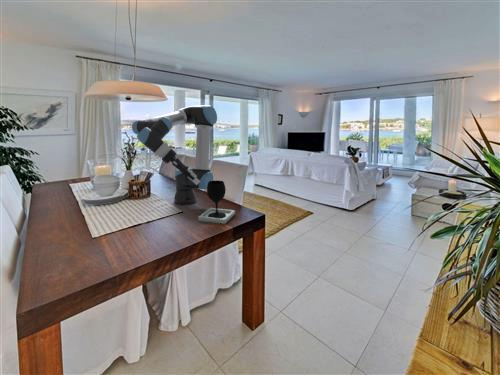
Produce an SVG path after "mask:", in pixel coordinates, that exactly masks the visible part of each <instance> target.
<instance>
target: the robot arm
mask: <svg viewBox="0 0 500 375" xmlns="http://www.w3.org/2000/svg"><path fill="white" fill-rule="evenodd" d="M217 121H218V113H217V110H216V109H215V107H213V106H212V105H209V104H202V105H190V106H186V107H182V108H179V109H177V110H176V111H175V112H171V113H167V114H163V115H159V116H155V117H152V118H148V119H145V120H135V121H133V122H132V124H131V130H132V132H133V133H134V134H135V135H136V139H137V140H138V141H139V142H140V143H141V144H142V145H144V146H145V147H146V148H148V150H149V151H151V152H152V153H154V156H155V157H158V158H159V159H161V161H163V162H164V164H169V163H170V162H171V165H173V167H175V169H176V170H175V171H174V179H175V194H174V197H173V200H174V201H173V202H174V204H178V205H189V204H194V203H195V202H197V196H196V193H195V191H194V189H199V190H207V185H208V182H209V181H214V174H213V173H212V172H211V168H210V167H209V156H210V140H211V130H212V129H213V127H214V125H216V123H217ZM187 124H188V125H194V127H195V128H196V137H195V138H196V139H195V140H196V141H195V156H194V157H195V160H194V166H193V167H190V166H188V165H187V166H186V165H185V164H184V163H183V162H182V161H181V160H180V159H179V158H176V155H177V152H176V151H175V150H174V149H173V148H171V147H170V145H168V144H167V143H166V142H165V141H164V140H163V139H164V138H165V137H166V136H167V135H168V133H170V131H171V130H172V129H173V127H174V126H178V125H181V126H183V125H187Z"/></svg>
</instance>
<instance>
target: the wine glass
mask: <svg viewBox="0 0 500 375" xmlns="http://www.w3.org/2000/svg"><path fill="white" fill-rule="evenodd" d="M226 190H227V189H226V185H225V182H224V180H213V181H209V182H208V185H207V189H206V194H207V197H208V198H209V199H210V200H211V201H212V202H213V203H214V204H215V208H216V212H214V213H210V214H209V215H208V217H212V218H224V217H225V216H226V214H225V213H222V212H218V209H219V208H218V204H219V202H221V201H222V200H223V199H224V198H225V196H226Z"/></svg>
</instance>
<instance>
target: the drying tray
mask: <svg viewBox="0 0 500 375" xmlns="http://www.w3.org/2000/svg"><path fill="white" fill-rule="evenodd" d="M214 212H216V207H215V208H214V207H209V208H208V209H206V210H205V211H204V212H202V214H200V215H198V217H197V218H198V219H197V220H198V222H204V223H205V222H206V223H213V224H220V223H221V224H222V225H226V224H227V223H228V222H229V221H230V220H231V219H233V217H234V216H235V215H236V210H234V209H225V208H224V209H223V208H218V212H222V213H225V214H226V216H225V217H224V218H212V217H208V215H209V214H210V213H214Z"/></svg>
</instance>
